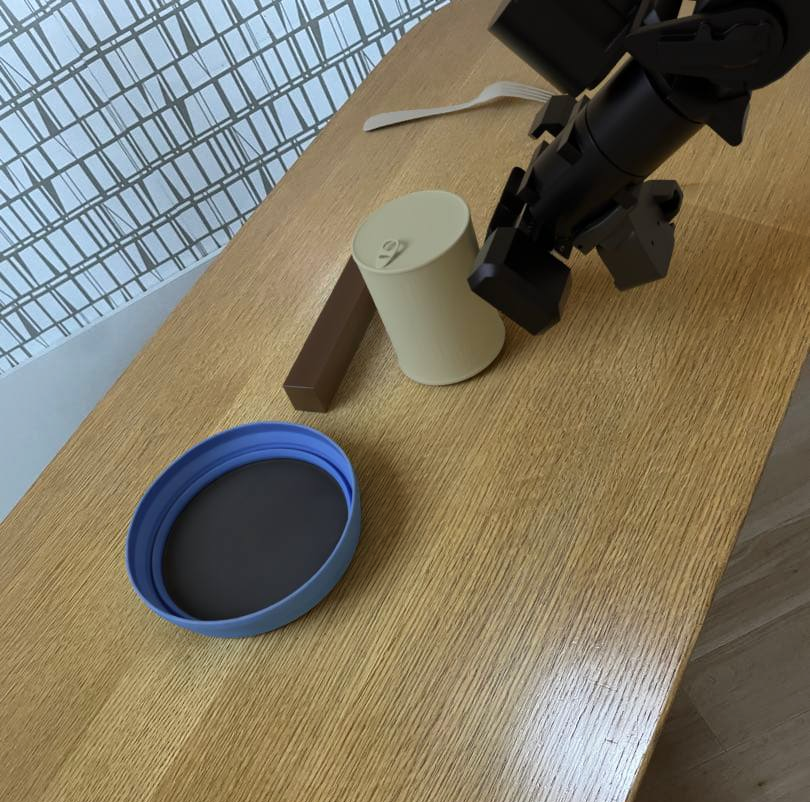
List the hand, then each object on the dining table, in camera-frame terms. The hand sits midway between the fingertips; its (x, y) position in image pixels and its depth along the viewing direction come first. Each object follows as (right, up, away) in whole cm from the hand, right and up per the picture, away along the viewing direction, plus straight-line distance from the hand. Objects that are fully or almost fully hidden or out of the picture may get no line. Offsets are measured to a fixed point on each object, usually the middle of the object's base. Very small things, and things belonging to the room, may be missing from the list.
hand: (480, 276), depth 64 cm
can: (-2, -4, +6) cm, 8 cm away
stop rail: (-11, -2, +11) cm, 15 cm away
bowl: (-17, -20, 0) cm, 26 cm away
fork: (0, +25, +26) cm, 37 cm away
